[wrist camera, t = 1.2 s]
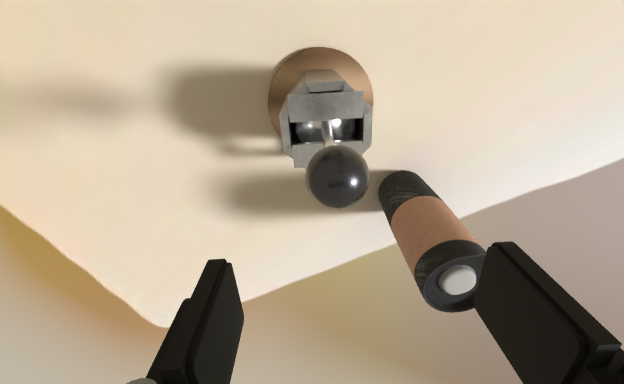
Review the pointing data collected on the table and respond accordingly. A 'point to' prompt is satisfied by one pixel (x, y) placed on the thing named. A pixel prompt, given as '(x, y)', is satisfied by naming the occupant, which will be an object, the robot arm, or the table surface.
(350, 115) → the grey slotted housing
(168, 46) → the table surface
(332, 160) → the plunger
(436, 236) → the travel mug
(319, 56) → the disc
